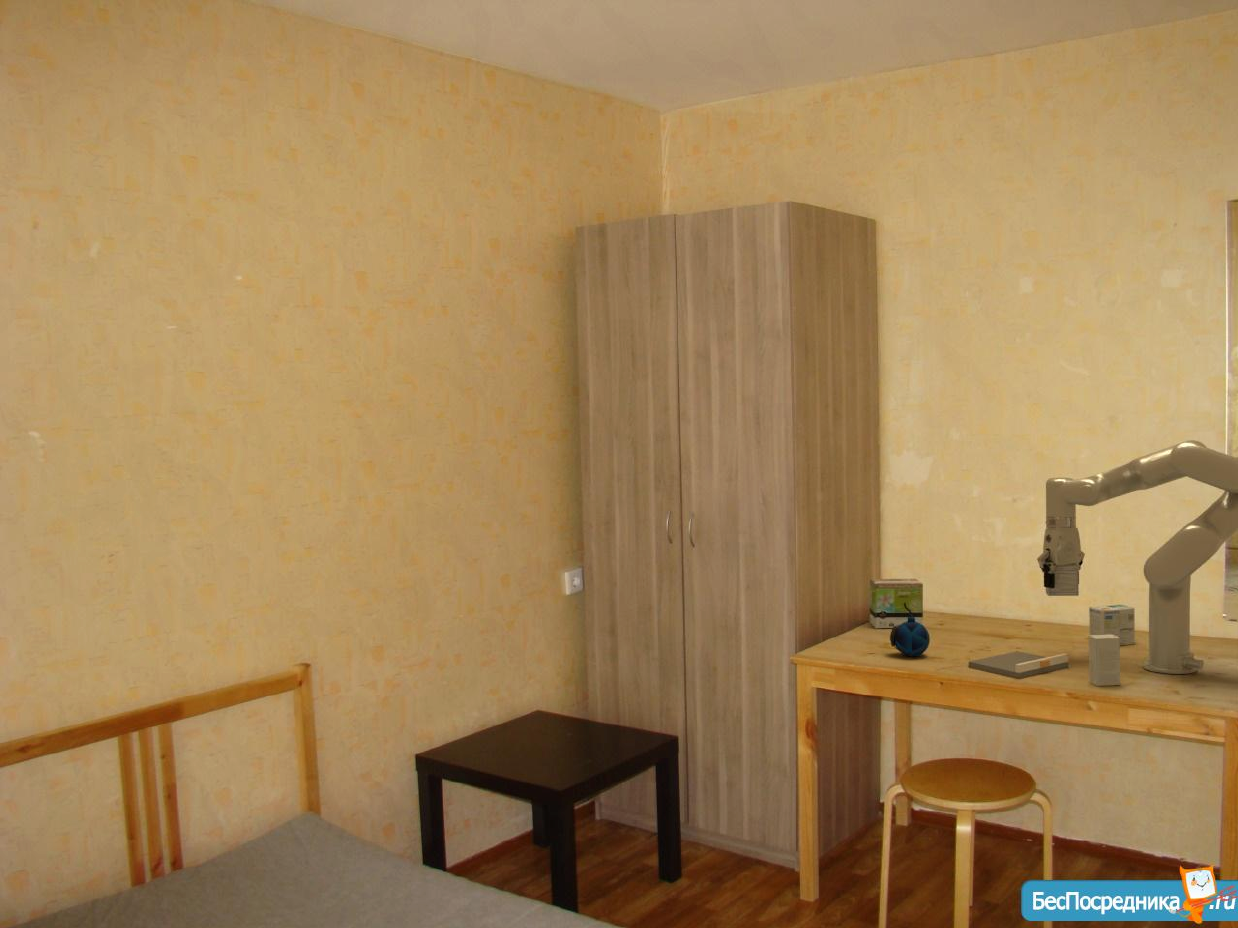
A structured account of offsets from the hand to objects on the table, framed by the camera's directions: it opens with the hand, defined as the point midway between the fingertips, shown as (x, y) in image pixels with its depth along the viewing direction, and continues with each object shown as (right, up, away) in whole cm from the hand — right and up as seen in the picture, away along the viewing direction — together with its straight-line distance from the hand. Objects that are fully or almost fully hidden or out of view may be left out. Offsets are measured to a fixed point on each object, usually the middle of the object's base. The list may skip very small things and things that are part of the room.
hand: (1061, 585), depth 296 cm
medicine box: (0, -3, 0) cm, 3 cm away
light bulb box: (+22, -19, +18) cm, 34 cm away
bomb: (-39, -21, +9) cm, 45 cm away
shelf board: (-15, -21, -7) cm, 26 cm away
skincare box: (0, -22, -27) cm, 34 cm away
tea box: (-32, -19, +51) cm, 63 cm away
